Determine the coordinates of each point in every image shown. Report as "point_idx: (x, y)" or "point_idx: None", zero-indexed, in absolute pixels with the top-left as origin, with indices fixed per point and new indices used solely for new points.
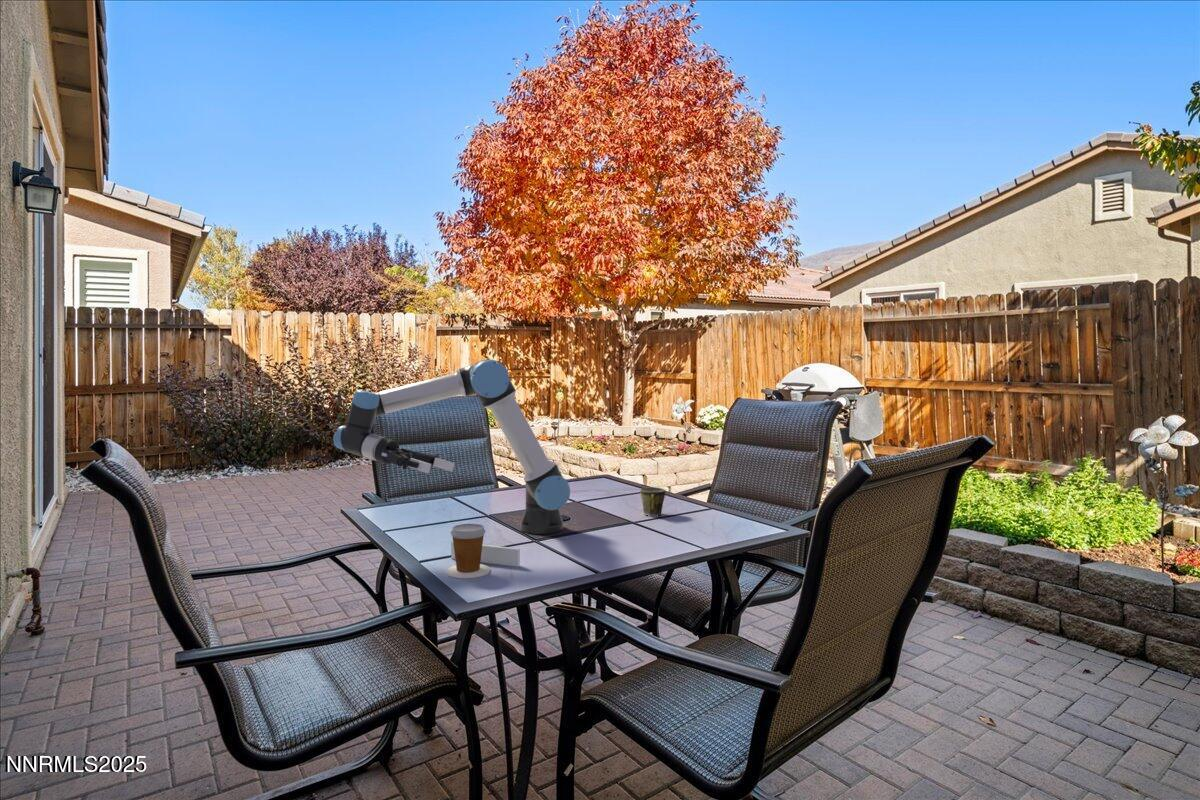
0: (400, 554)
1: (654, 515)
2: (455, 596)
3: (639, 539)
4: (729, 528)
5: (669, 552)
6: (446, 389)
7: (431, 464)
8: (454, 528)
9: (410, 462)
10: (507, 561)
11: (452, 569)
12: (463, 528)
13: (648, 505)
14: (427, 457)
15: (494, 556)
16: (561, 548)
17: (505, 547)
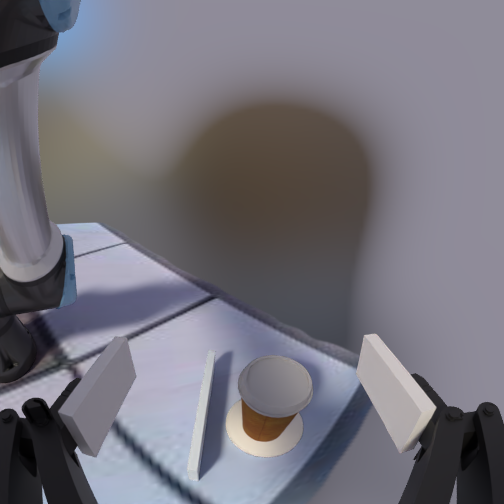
0: None
1: None
2: (360, 392)
3: (85, 272)
4: (68, 230)
5: (135, 257)
6: None
7: (80, 465)
8: (289, 404)
9: (436, 402)
10: (212, 379)
11: (273, 447)
12: (280, 389)
13: None
14: (72, 470)
15: (209, 395)
16: (113, 333)
17: (208, 369)
